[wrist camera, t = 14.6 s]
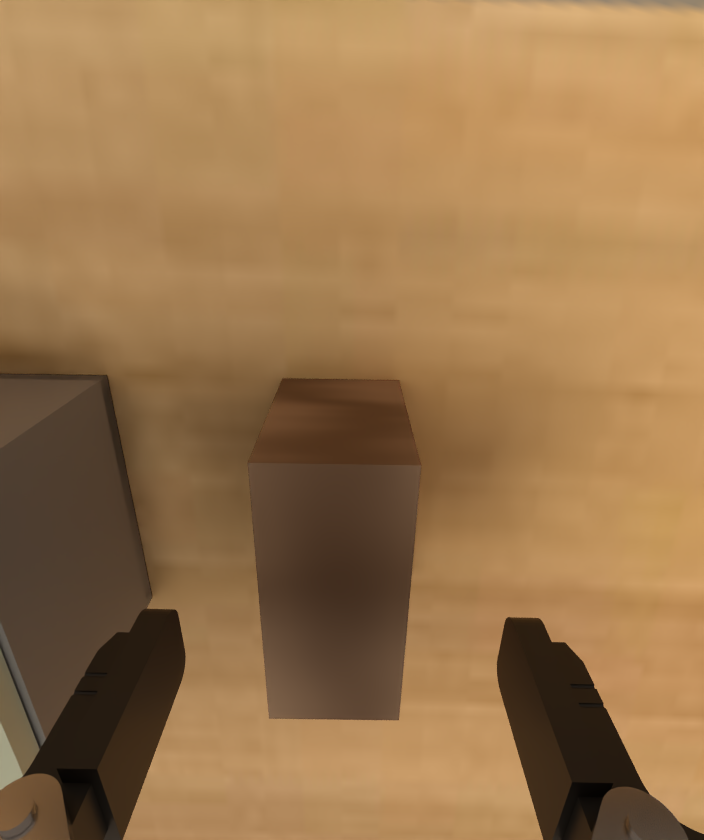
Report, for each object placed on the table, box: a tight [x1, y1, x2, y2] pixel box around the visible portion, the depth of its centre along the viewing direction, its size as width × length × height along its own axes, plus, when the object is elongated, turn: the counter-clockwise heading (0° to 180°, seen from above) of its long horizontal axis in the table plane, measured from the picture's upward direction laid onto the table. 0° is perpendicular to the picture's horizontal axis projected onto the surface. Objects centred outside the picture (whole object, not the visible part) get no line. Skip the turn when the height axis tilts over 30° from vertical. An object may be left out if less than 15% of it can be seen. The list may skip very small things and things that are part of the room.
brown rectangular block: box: [248, 378, 421, 720], centre depth 16 cm, size 4×9×6 cm, turn 179°
